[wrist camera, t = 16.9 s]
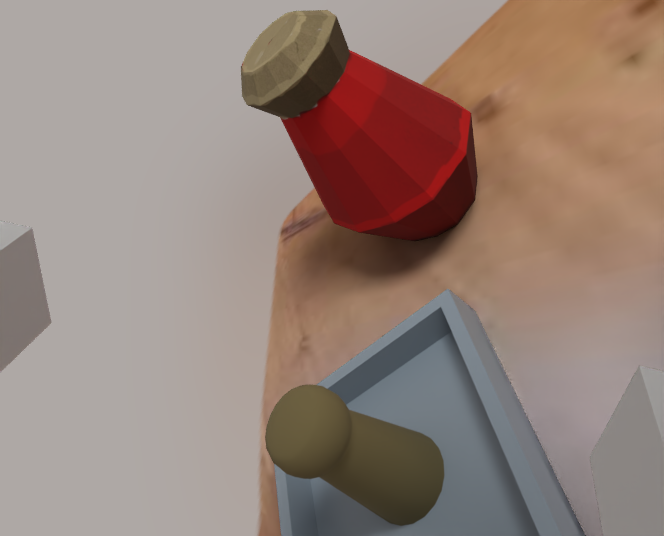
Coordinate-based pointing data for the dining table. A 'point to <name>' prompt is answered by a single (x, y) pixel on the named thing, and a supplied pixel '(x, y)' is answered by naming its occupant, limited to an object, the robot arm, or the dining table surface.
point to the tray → (440, 436)
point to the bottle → (363, 130)
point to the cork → (355, 454)
